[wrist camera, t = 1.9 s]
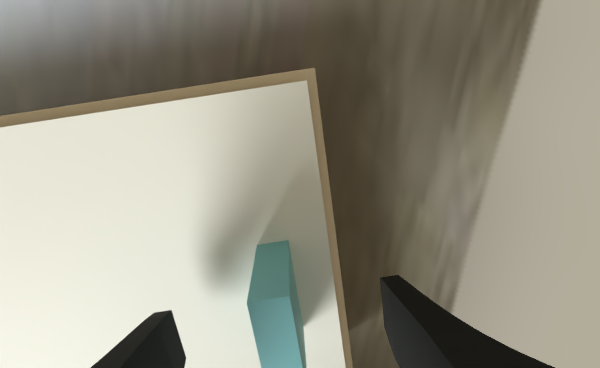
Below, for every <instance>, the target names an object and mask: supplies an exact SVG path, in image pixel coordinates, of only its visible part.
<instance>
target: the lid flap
mask: <svg viewBox="0 0 600 368" xmlns="http://www.w3.org/2000/svg"><path fill="white" fill-rule="evenodd" d="M168 310H172V313H173V316H174V320H175V323H176V326H177V330H178V333H179V336H180V339H181V343H182V346H183V349H184V352H185V356H186V362H185V367H184V368H346V367H345V360H344V352H343V345H342V337H341V330H340V323H339V315H338V308H337V300H336V293H335V285H334V278H333V271H332V263H331V256H330V248H329V241H328V234H327V226H326V219H325V211H324V204H323V197H322V189H321V182H320V174H319V167H318V159H317V152H316V145H315V137H314V130H313V122H312V115H311V108H310V100H309V93H308V85H307V80H306V81H300V82H293V83H287V84H280V85H274V86H267V87H261V88H254V89H248V90H241V91H235V92H228V93H221V94H215V95H208V96H202V97H195V98H189V99H182V100H176V101H169V102H163V103H156V104H150V105H143V106H137V107H130V108H124V109H117V110H111V111H104V112H98V113H91V114H85V115H78V116H72V117H65V118H59V119H52V120H46V121H39V122H33V123H26V124H20V125H13V126H7V127H0V368H91V367H92V366H93V365H94V364H95V363H96V362H98V361H99V360H100V359H101V358H102V357H104V356H105V355H106V354H107V353H108V352H109V351H110V350H111V349H113V348H114V347H115V346H116V345H117V344H118V343H119V342H120V341H122V340H123V339H124V338H125V337H126V336H127V335H128V334H129V333H130V332H132V331H133V330H134V329H135V328H136V327H137V326H138V325H140V324H141V323H142V322H143V321H144V320H145V319H147V318H148V317H149V316H150V315H152V314H153V313H155V312H162V311H168Z"/></svg>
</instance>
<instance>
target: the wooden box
mask: <svg viewBox="0 0 600 368" xmlns="http://www.w3.org/2000/svg"><path fill="white" fill-rule="evenodd" d="M306 80H307V85H308V93H309V100H310V108H311V115H312V122H313V130H314V137H315V145H316V152H317V159H318V167H319V174H320V182H321V189H322V197H323V204H324V211H325V219H326V226H327V234H328V241H329V248H330V256H331V263H332V271H333V278H334V285H335V293H336V300H337V308H338V315H339V323H340V330H341V337H342V345H343V352H344V360H345V367H346V368H353V365H352V357H351V349H350V341H349V333H348V325H347V317H346V309H345V302H344V294H343V286H342V278H341V270H340V262H339V254H338V246H337V239H336V231H335V223H334V215H333V207H332V199H331V191H330V183H329V176H328V168H327V160H326V152H325V144H324V136H323V128H322V120H321V113H320V105H319V97H318V89H317V81H316V73H315V68H309V69H302V70H296V71H289V72H283V73H276V74H270V75H263V76H257V77H250V78H244V79H237V80H231V81H224V82H218V83H211V84H205V85H198V86H192V87H185V88H179V89H172V90H166V91H159V92H153V93H146V94H140V95H133V96H127V97H120V98H114V99H107V100H101V101H94V102H88V103H81V104H75V105H68V106H62V107H55V108H48V109H42V110H35V111H29V112H22V113H16V114H9V115H3V116H0V127H7V126H13V125H20V124H26V123H33V122H39V121H46V120H52V119H59V118H65V117H72V116H78V115H85V114H91V113H98V112H104V111H111V110H117V109H124V108H130V107H137V106H143V105H150V104H156V103H163V102H169V101H176V100H182V99H189V98H195V97H202V96H208V95H215V94H221V93H228V92H235V91H241V90H248V89H254V88H261V87H267V86H274V85H280V84H287V83H293V82H300V81H306Z"/></svg>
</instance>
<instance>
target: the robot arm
mask: <svg viewBox="0 0 600 368" xmlns="http://www.w3.org/2000/svg"><path fill="white" fill-rule="evenodd" d="M380 280H381V291H382V303H383V314H384V326H385V330H386V333H387V336H388V339H389V342H390V345H391V348H392V351H393V354H394V356H395V359H396V361H397V363H398V365H399V367H400V368H555V367H552V366H550V365H547V364H545V363H543V362H540V361H538V360H536V359H534V358H531V357H529V356H527V355H525V354H522V353H520V352H518V351H516V350H514V349H512V348H510V347H508V346H506V345H504V344H502V343H500V342H498V341H496V340H495V339H493V338H491V337H489V336H487V335H485V334H483V333H482V332H480V331H478V330H476V329H474V328H473V327H471V326H469V325H468V324H466V323H465V322H463V321H461V320H460V319H458V318H457V317H455V316H454V315H452V314H451V313H449V312H448V311H446V310H445V309H443V308H442V307H440V306H439V305H437V304H436V303H435V302H433V301H432V300H430V299H429V298H428V297H426V296H425V295H424V294H422V293H421V292H420V291H418V290H417V289H416V288H414V287H413V286H412V285H411V284H409V283H408V282H407V281H405V280H404V279H403V278H401V277H400V276H399V275H395V276H388V277H382V278H380ZM185 362H186V356H185V352H184V349H183V346H182V343H181V339H180V336H179V333H178V330H177V326H176V323H175V320H174V316H173V313H172V310H168V311H162V312H155V313H153V314H152V315H150V316H149V317H148V318H147V319H145V320H144V321H143V322H142V323H141V324H140V325H138V326H137V327H136V328H135V329H134V330H133V331H132V332H130V333H129V334H128V335H127V336H126V337H125V338H124V339H123V340H122V341H120V342H119V343H118V344H117V345H116V346H115V347H114V348H113V349H111V350H110V351H109V352H108V353H107V354H106V355H105V356H104V357H102V358H101V359H100V360H99V361H98V362H96V363H95V364H94V365H93V366H92V367H91V368H184V367H185Z"/></svg>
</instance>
